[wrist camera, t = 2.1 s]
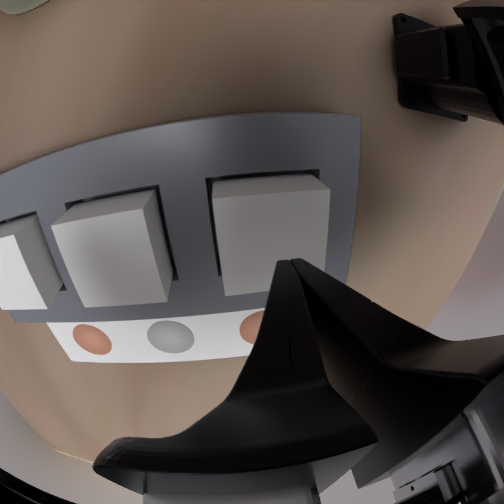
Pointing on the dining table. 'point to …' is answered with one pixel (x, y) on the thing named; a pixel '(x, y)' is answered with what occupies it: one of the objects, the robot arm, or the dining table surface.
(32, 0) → the can
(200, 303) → the button board
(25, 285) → the button
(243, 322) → the pattern card
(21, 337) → the dining table surface
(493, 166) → the dining table surface
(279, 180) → the button
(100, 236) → the button middle
